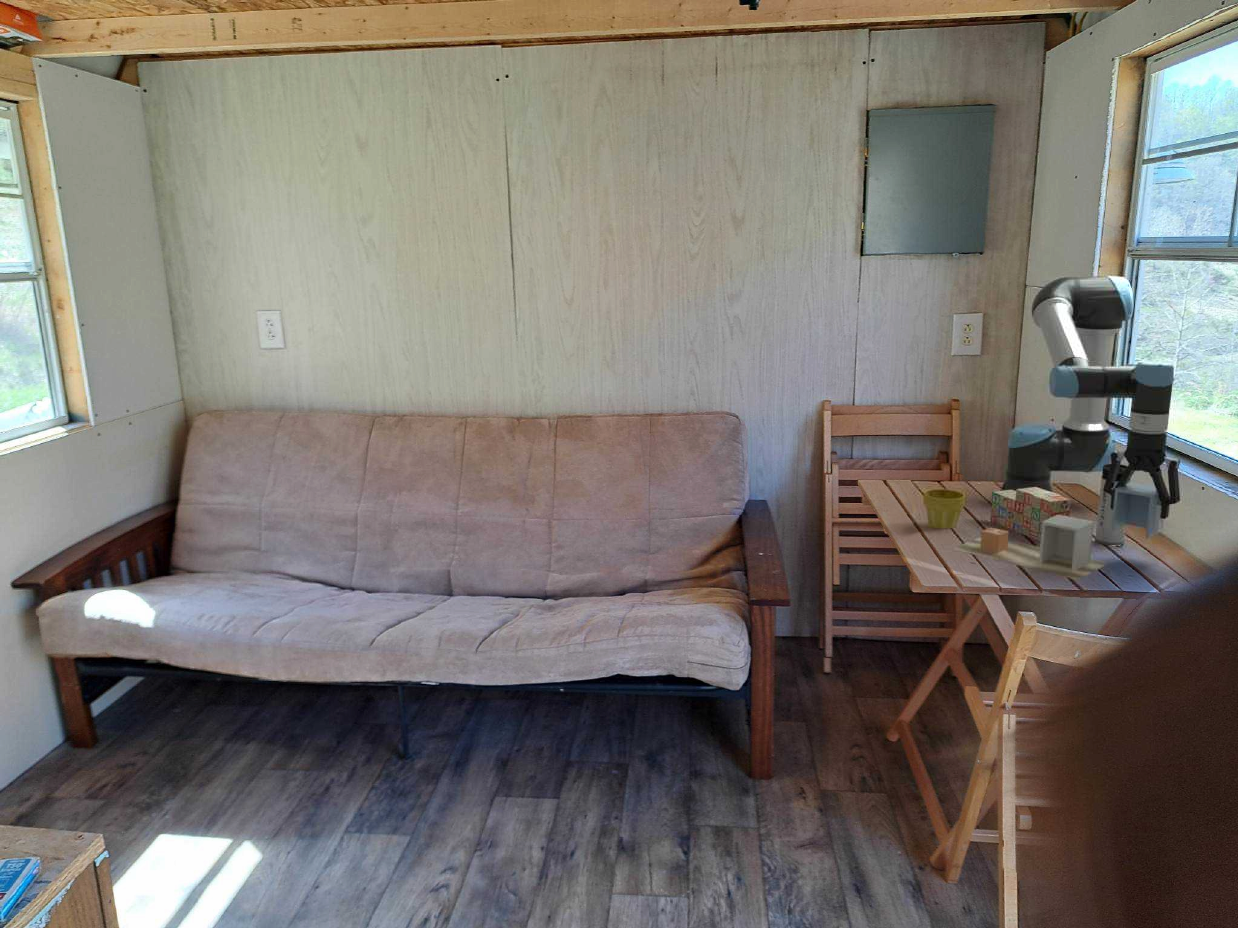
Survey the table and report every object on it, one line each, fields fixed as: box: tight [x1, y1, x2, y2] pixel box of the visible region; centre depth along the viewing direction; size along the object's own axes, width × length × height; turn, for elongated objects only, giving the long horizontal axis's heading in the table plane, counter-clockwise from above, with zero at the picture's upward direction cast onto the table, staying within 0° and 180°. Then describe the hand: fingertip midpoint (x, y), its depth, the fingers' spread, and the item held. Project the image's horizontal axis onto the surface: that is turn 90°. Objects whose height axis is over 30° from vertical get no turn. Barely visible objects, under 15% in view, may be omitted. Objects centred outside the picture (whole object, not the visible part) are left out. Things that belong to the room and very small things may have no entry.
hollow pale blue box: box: [1111, 482, 1165, 539], centre depth 202 cm, size 8×8×10 cm
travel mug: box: [1094, 463, 1132, 547], centre depth 218 cm, size 6×7×20 cm
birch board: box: [952, 536, 1109, 581], centre depth 210 cm, size 16×30×1 cm, turn 40°
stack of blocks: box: [990, 487, 1072, 543], centre depth 227 cm, size 21×6×12 cm, turn 15°
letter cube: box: [980, 527, 1009, 553], centre depth 215 cm, size 4×4×5 cm
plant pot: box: [923, 488, 966, 530], centre depth 234 cm, size 10×10×10 cm
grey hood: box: [1039, 515, 1094, 571], centre depth 203 cm, size 8×8×10 cm
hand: (1137, 527), depth 203 cm, fingers closed on hollow pale blue box, 8 cm apart
